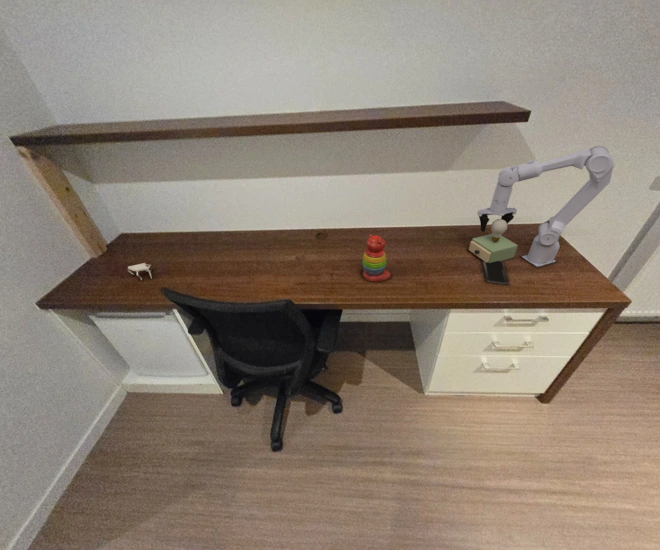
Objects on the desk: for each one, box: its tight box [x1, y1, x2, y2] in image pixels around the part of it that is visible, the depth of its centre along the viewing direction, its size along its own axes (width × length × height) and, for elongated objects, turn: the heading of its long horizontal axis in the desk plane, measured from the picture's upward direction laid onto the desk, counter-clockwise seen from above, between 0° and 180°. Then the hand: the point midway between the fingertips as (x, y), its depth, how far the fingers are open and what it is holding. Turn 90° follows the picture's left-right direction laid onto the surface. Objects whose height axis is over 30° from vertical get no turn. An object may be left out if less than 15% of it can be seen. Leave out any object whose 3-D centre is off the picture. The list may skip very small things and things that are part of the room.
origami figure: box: [127, 262, 153, 281], centre depth 130 cm, size 12×8×5 cm
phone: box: [481, 260, 509, 286], centre depth 119 cm, size 8×1×15 cm
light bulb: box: [490, 218, 508, 242], centre depth 122 cm, size 6×6×10 cm
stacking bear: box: [361, 233, 392, 282], centre depth 117 cm, size 11×10×18 cm
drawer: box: [468, 240, 491, 262], centre depth 127 cm, size 13×11×4 cm
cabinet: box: [471, 233, 518, 263], centre depth 127 cm, size 12×12×6 cm
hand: (491, 230), depth 126 cm, fingers open, 7 cm apart
